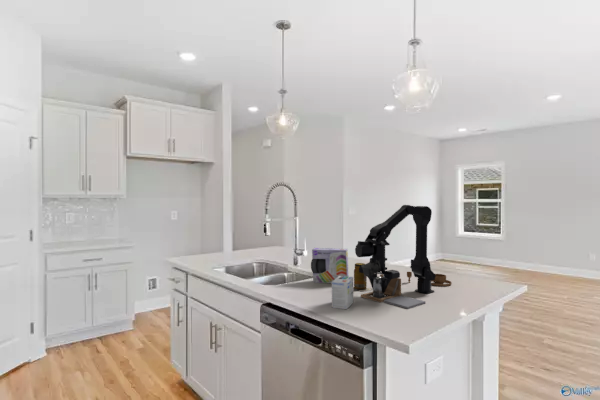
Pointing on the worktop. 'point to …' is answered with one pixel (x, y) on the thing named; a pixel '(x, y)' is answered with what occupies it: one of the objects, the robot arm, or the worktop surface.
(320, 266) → the cake pan box
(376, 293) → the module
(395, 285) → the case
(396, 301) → the mat
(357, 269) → the condiment
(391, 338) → the worktop surface
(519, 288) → the worktop surface
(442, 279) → the place setting
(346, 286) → the light bulb box
